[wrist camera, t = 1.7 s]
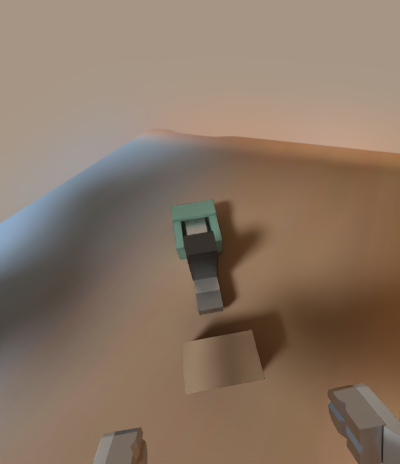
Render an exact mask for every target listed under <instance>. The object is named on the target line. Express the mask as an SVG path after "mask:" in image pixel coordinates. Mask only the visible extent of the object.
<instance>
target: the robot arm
mask: <svg viewBox="0 0 400 464" xmlns="http://www.w3.org/2000/svg"><path fill="white" fill-rule="evenodd" d="M328 397H329V399H330V400H331V402H330V403H329V405H328V407H329V413H330V416H331V419H332V421H333V423H334V425H335V427H336V429H337V431H338V432H339V433H340V434H341V435H342V436H344V437H345V438H347V447H348V448H349V450H350V452H351V453H352V455H353V456H354V458H355V460H356V461H357V463H358V464H381V463H383V464H400V421H399V420H398V419H397V418H396V416H395V415H394V414H393V413H392V412H391V411H390V410H389V409H388V408H387V407H386V406H385V404H384V403H383V402H382V401H381V400H380V399H379V398H378V397H377V396H376V395H375V394H374V392H373V391H372V390H371V389H370V388H369V387H368V386H367V385H366V384H364V383H359V384H354V385H347V386H343V387H338V388H334V389H329V390H328ZM142 436H143V432H142V429H141V427H139V428H133V429H128V430H122V431H115V432H110V433H105V434H104V435H103V437H102V438H101V441H100V444H99V447H98V450H97V453H96V456H95V458H94V461H93V464H147V445H146V442H145V441H144V440H143V439H142Z"/></svg>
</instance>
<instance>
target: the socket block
mask: <svg viewBox="0 0 400 464" xmlns="http://www.w3.org/2000/svg"><path fill="white" fill-rule="evenodd" d="M181 352H182V362H183V372H184V382H185V392H186V394H190V393H195V392H200V391H205V390H211V389H216V388H221V387H226V386H231V385H236V384H242V383H247V382H252V381H257V380H262V379H265V377H264V373H263V370H262V366H261V362H260V358H259V355H258V351H257V347H256V344H255V340H254V336H253V332H252V330H248V331H243V332H237V333H232V334H227V335H221V336H216V337H211V338H205V339H200V340H195V341H189V342H184V343H181Z"/></svg>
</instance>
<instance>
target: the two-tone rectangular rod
mask: <svg viewBox="0 0 400 464" xmlns="http://www.w3.org/2000/svg"><path fill="white" fill-rule="evenodd" d="M185 224H186V231H187V235H186V236H183V237H184V244H185V251H186V257H187V260H188V264H189V268H190V271H191V275H192V278H193V281H194V284H195V290H196V297H197V303H198V310H199V314H200V315H202V314H207V313H213V312H218V311H223V302H222V298H221V293H220V288H219V284H218V279H217V276H218V249H217V245H216V241H215V236H214V232H213V231H209V232H207V227H206V223H205V218H204V217H203V218H197V219H191V220H185Z"/></svg>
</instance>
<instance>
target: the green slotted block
mask: <svg viewBox="0 0 400 464" xmlns="http://www.w3.org/2000/svg"><path fill="white" fill-rule="evenodd" d="M171 211H172V220H173V224H174V233H175V242H176V249H177V252H178V255H179V258H180V260H181V259H187V257H186V251H185V244H184V237H183V236H186V235H187V231H186V224H185V220H191V219H197V218H203V217H204V218H205V223H206V227H207V232H209V231H213V232H214V236H215V241H216V245H217V249H218V253H221V252H222V237H221V233H220V229H219V225H218V221H217V217H216V211H215V207H214V203H213V200H207V201H201V202H195V203H189V204H183V205H177V206H171Z"/></svg>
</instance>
